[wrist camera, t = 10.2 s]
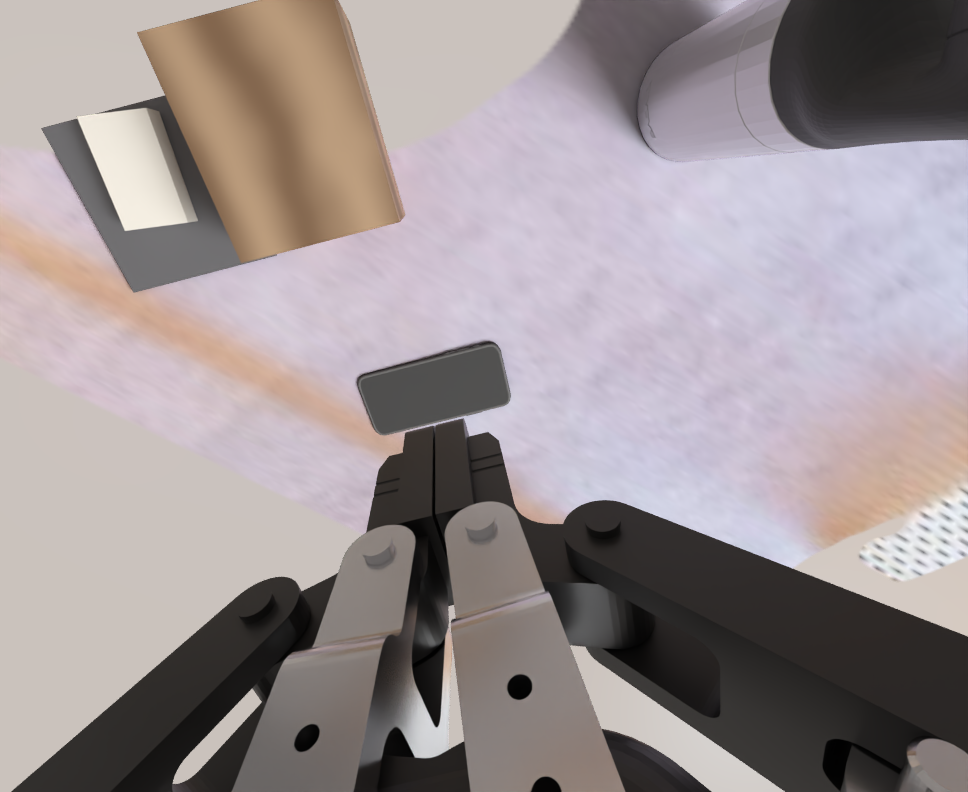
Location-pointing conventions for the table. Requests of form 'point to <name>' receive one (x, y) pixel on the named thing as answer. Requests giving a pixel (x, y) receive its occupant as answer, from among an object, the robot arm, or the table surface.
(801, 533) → the table surface
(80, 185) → the rubber mat
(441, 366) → the smartphone
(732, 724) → the robot arm
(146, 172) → the card box
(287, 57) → the brown wooden block
